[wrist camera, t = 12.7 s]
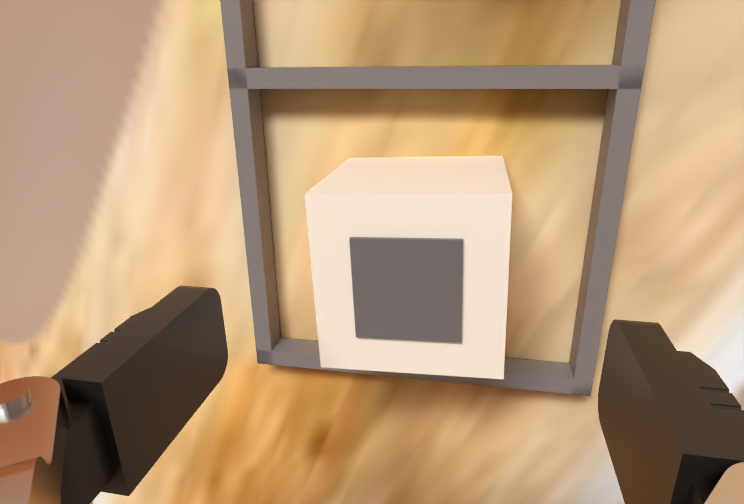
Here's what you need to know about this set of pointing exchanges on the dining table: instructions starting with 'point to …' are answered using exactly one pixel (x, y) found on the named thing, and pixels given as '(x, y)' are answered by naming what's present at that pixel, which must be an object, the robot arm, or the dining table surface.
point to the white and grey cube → (412, 264)
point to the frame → (616, 77)
